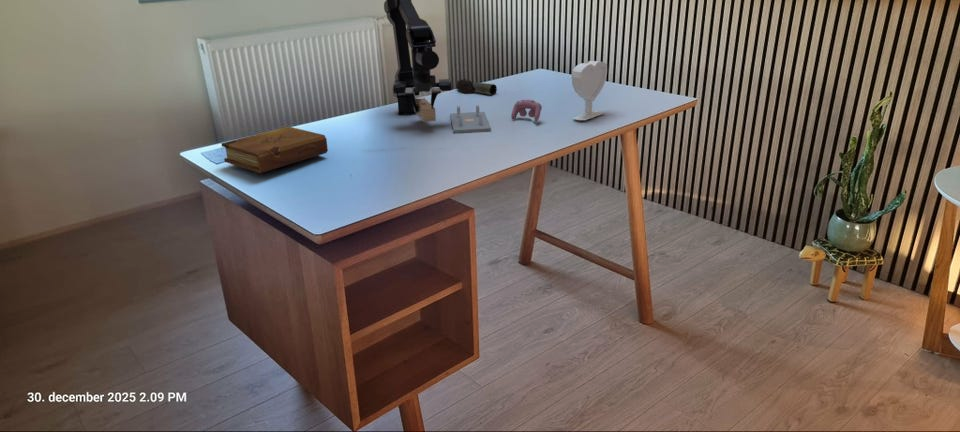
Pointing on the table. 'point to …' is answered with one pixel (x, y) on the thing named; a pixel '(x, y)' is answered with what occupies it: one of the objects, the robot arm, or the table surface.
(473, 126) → the plate
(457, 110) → the set of grey blocks
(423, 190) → the table surface
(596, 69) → the heart sculpture
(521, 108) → the video game controller
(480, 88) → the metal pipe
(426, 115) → the tan wooden bar
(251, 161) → the diary
